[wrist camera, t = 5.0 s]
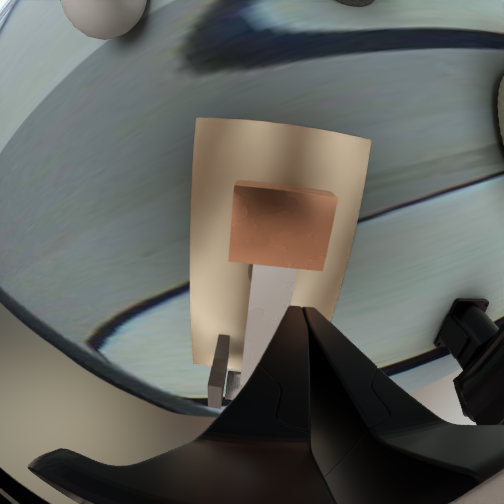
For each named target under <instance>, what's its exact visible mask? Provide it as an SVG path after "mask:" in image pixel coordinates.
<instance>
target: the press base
mask: <svg viewBox="0 0 504 504" xmlns="http://www.w3.org/2000/svg"><path fill="white" fill-rule="evenodd" d="M370 146H371V140H369V139H364V138H360V137H356V136H351V135H346V134H342V133H337V132H332V131H326V130H321V129H315V128H309V127H302V126H296V125H288V124H281V123H272V122H263V121H252V120H240V119H224V118H197V117H196V126H195V138H194V152H193V168H192V187H191V215H190V306H191V334H192V353H193V364H199V365H205V366H212V368H211V372H210V377H209V382H208V407H212V408H219V409H221V404H222V397H223V391H224V384H225V378H226V372H227V368H228V369H236V370H241V369H242V360H243V351H244V342H245V333H246V324H247V315H248V306H249V297H250V288H251V279H252V270H253V264H246V263H237V262H228V260H229V246H230V231H231V218H232V205H233V192H234V184H235V183H236V181H237V180H246V181H256V182H265V183H274V184H282V185H290V186H298V187H305V188H313V189H319V190H326V191H331V192H332V193H333V194H334V195H335V196H336V197H337V198H338V201H337V206H336V212H335V217H334V222H333V227H332V232H331V237H330V241H329V246H328V251H327V255H326V260H325V264H324V268H323V271H314V270H304V269H298V270H297V275H296V280H295V285H294V290H293V295H292V300H291V305H293V306H301V307H304V306H305V307H314V308H316V309H317V310H318V311H319V312H320V313H321V314H322V315H323V316H324V317H325V318H326V319H327V320H328V321H330V322H331V319H332V316H333V313H334V310H335V306H336V303H337V300H338V296H339V293H340V289H341V286H342V282H343V278H344V275H345V271H346V267H347V263H348V259H349V255H350V251H351V247H352V243H353V239H354V234H355V230H356V225H357V221H358V216H359V211H360V206H361V201H362V196H363V190H364V185H365V179H366V173H367V167H368V160H369V153H370Z"/></svg>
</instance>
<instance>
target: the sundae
mask: <svg viewBox="0 0 504 504" xmlns="http://www.w3.org/2000/svg"><path fill="white" fill-rule="evenodd" d="M337 1H339V2H341V3H344V4H347V5H351V6H366V5H369V4H371V3H372V2H373V1H374V0H337Z"/></svg>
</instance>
